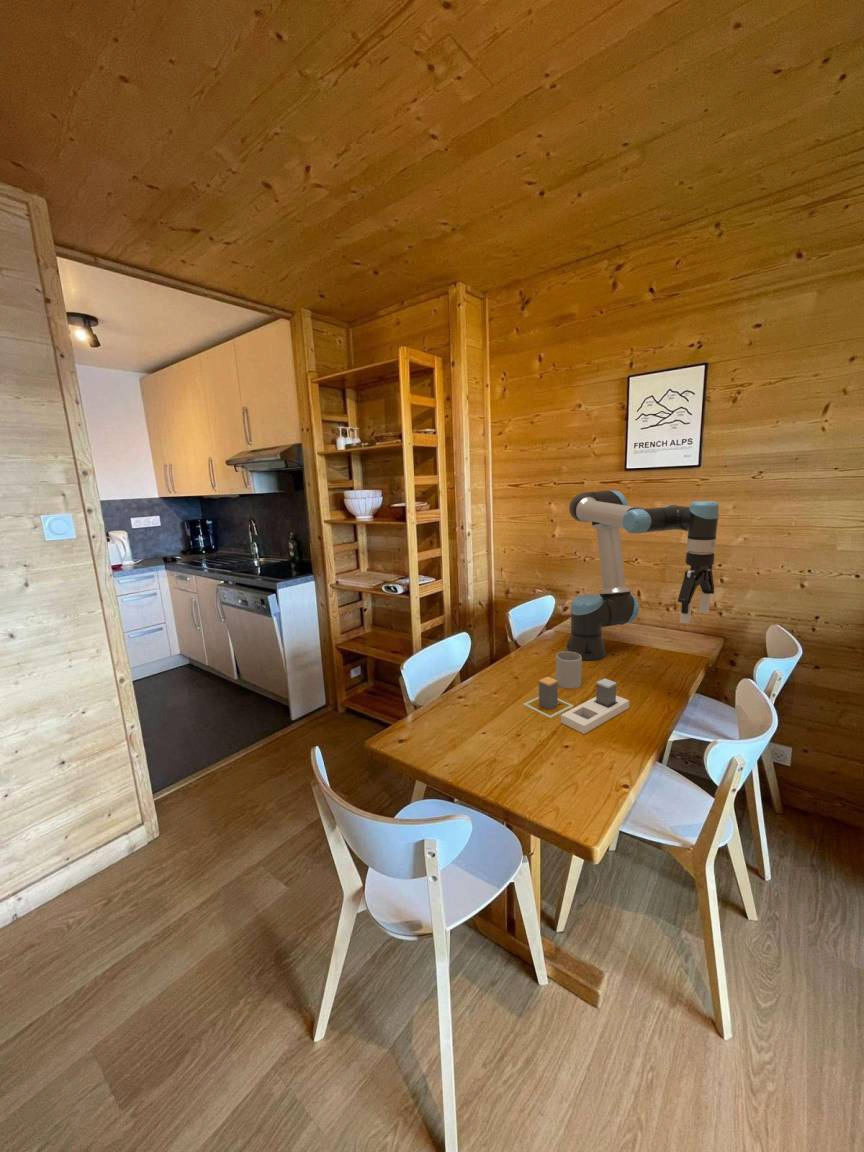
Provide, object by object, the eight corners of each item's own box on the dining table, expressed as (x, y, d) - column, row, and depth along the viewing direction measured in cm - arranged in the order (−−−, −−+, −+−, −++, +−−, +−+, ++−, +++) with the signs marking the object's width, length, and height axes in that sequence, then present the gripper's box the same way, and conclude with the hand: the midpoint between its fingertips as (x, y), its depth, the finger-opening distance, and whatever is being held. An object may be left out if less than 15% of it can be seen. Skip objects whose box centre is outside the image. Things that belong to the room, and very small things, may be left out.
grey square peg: (595, 709, 141) (596, 682, 139) (603, 704, 143) (604, 678, 141) (607, 714, 138) (608, 686, 136) (615, 709, 140) (616, 682, 138)
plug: (539, 706, 145) (539, 680, 143) (547, 702, 147) (547, 676, 145) (548, 711, 142) (549, 684, 140) (557, 707, 144) (557, 680, 142)
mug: (572, 693, 153) (573, 663, 151) (550, 685, 159) (550, 656, 157) (591, 681, 161) (591, 652, 159) (569, 674, 167) (569, 646, 165)
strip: (560, 725, 135) (561, 714, 134) (605, 701, 147) (605, 691, 146) (583, 737, 128) (584, 726, 128) (628, 710, 141) (629, 700, 140)
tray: (523, 707, 146) (523, 703, 146) (546, 696, 152) (546, 693, 152) (550, 721, 137) (550, 717, 137) (573, 709, 143) (573, 705, 143)
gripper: (695, 560, 131) (689, 630, 136) (730, 547, 146) (723, 611, 150) (668, 557, 136) (663, 624, 141) (704, 545, 151) (699, 606, 156)
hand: (694, 617), depth 146 cm, fingers open, 13 cm apart
